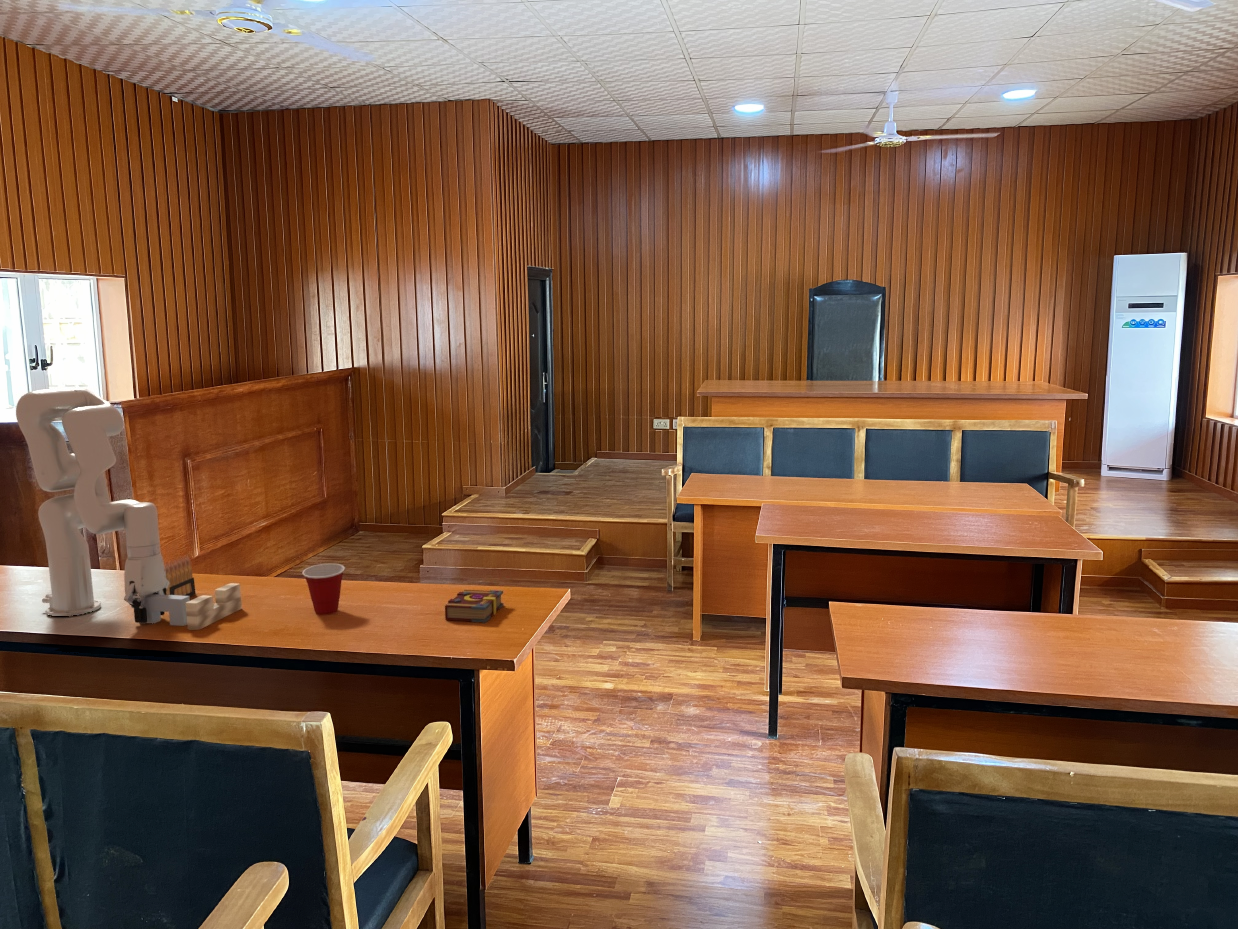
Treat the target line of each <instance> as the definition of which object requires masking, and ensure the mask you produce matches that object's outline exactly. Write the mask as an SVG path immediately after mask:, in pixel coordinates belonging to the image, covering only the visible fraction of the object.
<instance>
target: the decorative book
mask: <svg viewBox="0 0 1238 929" xmlns="http://www.w3.org/2000/svg"><path fill="white" fill-rule="evenodd" d="M503 594H504V590H498V589H497V590H495V589H494V590H493V589H492V590H491V589H490V590H478V589H477V590H475V589H464V590H462V591H459V592H458V593H456V596H455V597H453V598H450V599H448V601H447V604H445V605H444V618H445V619H444V620H445V621H458V622H471V623H479V622H482V623H481V624H486V623H487V622H488V621H489V620H490V619H491V617H492V616H495V615H496V614H497V611H498V610H500V609H502V608H503V607H504V602H502V595H503ZM495 613H496V614H495Z"/></svg>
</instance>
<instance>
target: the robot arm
mask: <svg viewBox="0 0 1238 929" xmlns="http://www.w3.org/2000/svg"><path fill="white" fill-rule="evenodd" d="M15 416H16V421H17V424H18V426H19V428H20V431H21V433H22V434H23V435H22V436H24V439H25V442H26V444H27V446H28V447H27V448H28V451H29V455H30V459H31V463H32V467H33V471H34V474H35V475H34V476H35V478H36V481H37V482H36V483H37V484H38V487H39V488H40V489H41V490H42V491H44V492H45V491H46V492H49V493H53V492H54V493H55V492H61V491H67V490H74V492H73V493H70V494H65V495H60V496H55V497H52V498H49V499H47V500H45V501H44V502H42V503H41V505H40V506H39V508H38V511H37V512H38V521H39V524H40V526H41V529H42V532H43V536H44V539H45V546H46V555H47V562H48V571H49V579H50V580H49V582H50V591H51V593H47V594H46V595H45V596H44V597H42V600H41V602H42V603H43V604H48V603H49V607H48V608H47V609H46V610H45V612H46V615H47V614H49V615H52V616H69V617H74V616H73V615H77V616H80V615H79V614H82V615H85V614H84V613H86V614H88V613H87V612H90V613H93V612H95V611H98V610H99V609H100V608H101V607H102V603H101V601H99V600H97V599H96V600H95V599H94V588H93V578H92V567H91V559H90V558H91V557H90V548H89V543H88V541H87V540H86V538H85V536H83V535H82V533H81V532H80V531H79V530H80V529H82V528H86V529H87V530H88V531H89V532H90V533H92V534H94V535H103V534H109V533H113V532H117V531H122V530H125V542H126V553H127V558H126V559H125V563H124V574H123V576H124V594H125V595H124V597H123V600H124V602H126V603H128V604H129V606H131V608H132V609H133V616H134V623H136V624H137V623H138V624H145V623H146V622H147V612H146V607H144V603H145V597H146V596H147V595H150V594H160V595H165V593H166V591H167V588H168V586H169V584H170V582H169V581H168V580H167V579H166V572H165V567H166V565H165V562H164V558H163V555H162V552H161V551H162V550H161V541H160V530H159V529H160V528H159V520H158V519H159V518H158V517H159V516H158V509H157V506H156V505H155V503H153V502H145V501H143V502H140V501H138V500H135V499H131V498H130V499H129V498H128V499H120V500H117V501H116V500H115V501H111V499H110V495H109V490H108V487H107V486H108V485H107V481H106V478H105V477H106V476H105V473H104V472H105V471H107V470H109V469H110V468H112V467H113V466H114V465H115V464H116V463H117V457H116V455H115V453H114V450H113V448H112V445H111V443H110V440H109V438H108V437H115V436H117V435H119V434H120V433H121V432H122V431H123V429H124V419H123V416H122V414H121V412H120V411H119V410H118V409H117V408H116V407H115V406H114V405H113V404H111V403H110V402H109V401H107V400H106V399H104V398H103V397H100V396H99V395H97V394H96V393H95V392H93V391H90V390H89V389H87V388H83V387H69V388H68V387H67V388H50V389H49V388H48V389H38V390H37V389H36V390H33V391H29V392H27V393H25V394H22V395H21V397H20V398H19V400H18V401H17V403H16V407H15ZM52 422H61V424H62V428H63V430H64V433H65V435H66V438H65V436H64V435H63V433H62V431H60V430H59V429H58V428H57V426H55V425H53V424H52ZM66 439H67V440H68V443H69V445H70V447H71V450H72V453H70V451H69V449H68V445H67V441H66ZM138 598H140V602H138V601H137V599H138ZM92 611H93V612H92ZM160 614H161V616H164V615H165V614H166V612H163V611H160ZM71 615H72V616H71Z"/></svg>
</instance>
